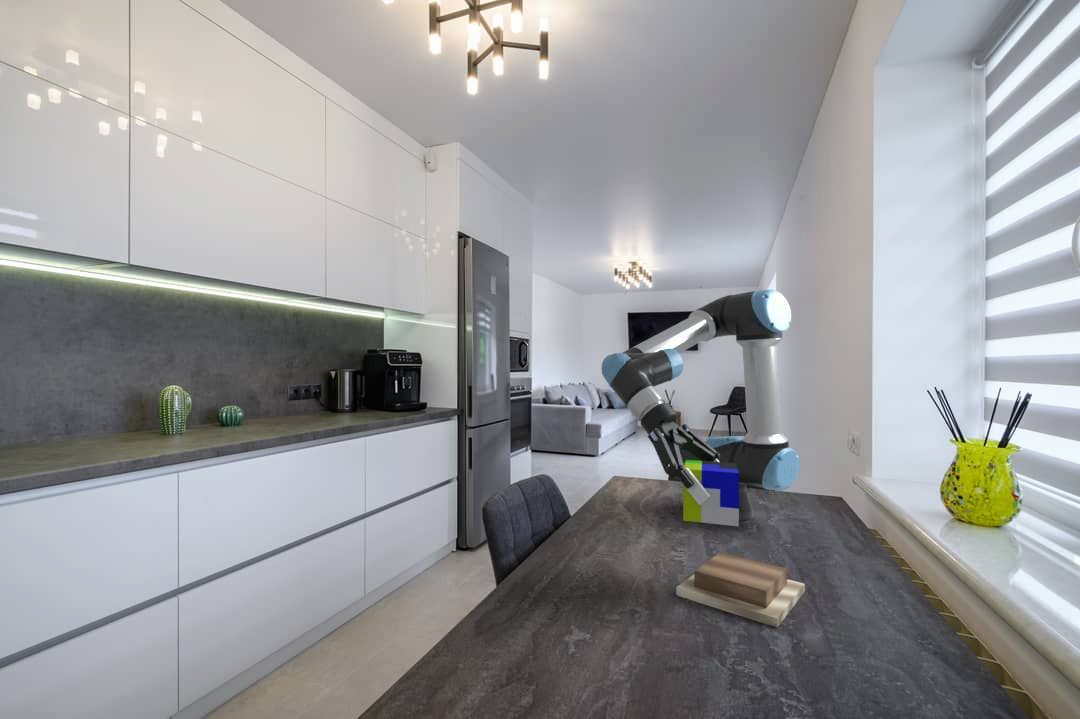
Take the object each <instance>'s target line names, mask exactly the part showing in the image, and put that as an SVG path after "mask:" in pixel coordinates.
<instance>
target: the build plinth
mask: <svg viewBox="0 0 1080 719" xmlns="http://www.w3.org/2000/svg"><path fill="white" fill-rule="evenodd" d="M805 584H806V583H804V582H799V581H795V580H791V579H788V568H787V567H786V568H785V567H782V566H778V565H775V564H769V563H765V562H762V561H757V560H753V559H749V558H745V557H741V556H737V555H733V554H730V553H729V554H728V553H724V552H722V551H721V552H719V553H717V554H716V555H715V556H713V557H712V558H710V559H709V560H708V561H706V562H705V563H703V564H702V565H701V566H700V567H698V568H696V569H695V570H694V574H693V575H692V576H690V577H688V578H687V579H685V580H684V581H683V582H682V583H680V584H679V585H677V586H676V588H675V590H676V596H677V595H678V596H677V597H681V598H684V599H686V598H687V600H690V601H693V602H696V603H699V604H703V605H706V606H708V607H711V608H713V609H718V610H720V611H721V610H722V611H724V612H728V613H731V614H734V615H737V616H740V617H744V618H745V619H750V620H753V621H754V622H755V621H756V622H758V623H762V624H765V625H768V626H772V627H774V628H779V626H780V625H781V624H782V623H783V621H784V620H785V619H786V617H787V616H788V614H789V613H790V612H791V610H793V608H794V606H795V605H796V604H797V602H798V601H799V600H800V598H801V597H802V596H803V594H804V593H805V591H806V590H805V589H806V587H805V586H806V585H805Z"/></svg>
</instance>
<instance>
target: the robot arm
mask: <svg viewBox="0 0 1080 719" xmlns="http://www.w3.org/2000/svg"><path fill="white" fill-rule="evenodd" d="M791 322H792V310H791V307H790V304H789V302H788V300H787V298H786V297H784V295H783V294H782V293H781V292H779V291H777V290H774V289H760V290H754V291H749V292H748V291H747V292H742V293H737V294H729V295H724V296H722V297H719V298H717V299H715V300H713V301H711V302H709V303H707V304H705V305H703V306H701V307H700V308H697V309H695V310H694V311H692V312H691V313H690V314H689V316H688V318H686V319H684V320H682V321H680V322H678V323H677V324H675V325H672V326H670V327H669V328H666V329H665V330H663V331H661V332H660V333H658V334H656V335H653V336H651V337H650V338H648V339H646V340H644V341H642V342H640V343H639V344H636V345H635V346H632V347H631V348H629V349H626V350H624V351H623V352H619V353H617V352H616V353H613V354H609V355H607V356H605V357H604V359H603V360H602V363H601V374H602V377H603V378H604V379H605V381H606V382H607V384H608V386H609V387H610V388H611V389H612V390H613V392H614V393H615V394H616V395H617V396H618V398H619V399H620V400H621V401H622V402H623V404H624V405H625V406H626V407H627V409H628V410H629V412H630V413H631V416H632V417H634V418H635V419H636V420H637V422H640V425H641V427H642V429H644V430H645V432H646V433H647V438H648V439H649V441H650V442H651V444H652V446H653V448H654V449H655V452H656V455H657V457H658V459H659V461H660V464H661V467H662V468H663V470H664V473H665V474H666V475H668V476H669V477H670V478H671V479H675V478H676V477H677V479H678V480H679V482H680V483H681V484H682V485H683V487H684V486H685V488H686V489H687V490H688V492H689V493H690V494H691V495H692V497H693V498H694V499H695V500H696V502H697V503H698V504H699V505H700V504H702V503H703V502H704V501H705V500H707V499H708V498H709V497H710V495H709V493H708V492H707V491H706V490H705V488H704V487H703V486H702V485H701V483H700V482H699V481H698V480H697V478H696V477H695V476H694V475H693V473H692V472H691V471H690V470H689V468H686V469H685V470H684V465H685V463H684V462H683V457H682V454H681V451H680V450H682V451H684V450H685V451H687V452H688V453H690V454H691V455H693V456H695V457H696V458H697V459H698V460H699V461H711V462H726V463H736V465H737V468H738V471H739V522H741V521H742V522H743V521H749V520H751V519H753V517H754V509H753V505H752V503H751V500H750V496H749V493H748V490H747V485H749V486H753V487H754V486H755V487H757V488H762V489H765V490H769V491H779V492H780V491H781V492H782V491H785V490H787V489H789V488H790V487H791V486H792V485H794V483H795V481H796V479H797V477H798V475H799V471H800V467H801V465H800V464H801V462H800V457H799V455H798V453H797V451H795V449H793V448H791V447H790V446H789V444H790V443H789V438H788V437H787V436H785V435H784V434H783V432H782V419H781V418H782V417H781V416H782V414H781V399H780V398H781V397H780V382H779V364H778V362H779V361H778V349H777V348H778V344H779V343H780V342H781V341H782V340H783V332H786V331H787V330H788V329H789V328H790V324H791ZM727 336H735V342H736V343H737V344H738V345H739V346H741V348H742V361H743V363H742V364H743V377H744V392H745V408H746V409H745V412H746V428H747V433H746V434H745V435H732V436H731V435H730V436H729V435H727V436H714V437H709V438H707V439H706V440H704V439H702V438H701V437H700V436H699V435H698V434H697V433H695V432H694V431H693V429H691V428H690V427H689V426H688V425H687V423H683V424H682V425H681V426H679V424H678V423H677V422H676V420H677V418H678V414H677V412H676V411H675V410H674V408H673V407H672V406H671V405H670V404H669V403H668V402H666V399H665V398H664V396H663V395H662V394H661V393H660V392H659V390H658V389H657V388H656V387H657V386H660V385H662V384H665V383H667V382H672V381H673V380H674V379H676V378H678V377H679V376H681V374H682V373H683V371H684V362H683V358H682V356H681V355H680V354H681V353H683V352H684V351H686V350H688V349H690V348H691V347H694V346H695V345H697V344H699V343H701V342H709V341H711V340H713V339H716V338H720V337H727Z"/></svg>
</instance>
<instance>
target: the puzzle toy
mask: <svg viewBox="0 0 1080 719" xmlns="http://www.w3.org/2000/svg"><path fill="white" fill-rule="evenodd" d="M686 468H689V470H690V471H691V472H692V473H693V475H694V476H695V477H696V478H697V480H698V481H699V482H700V483H701V485H702V486H703V487H704V488H705V490H706V491H707V492H708V493H709V495H710V497H709V498H708V499H707V500H705V501H704V502H703V503H702V504H700V505H699V504H698V503H697V502H696V500H695V499H694V498H693V497H692V495H691V494H690V493H689V492H688V490H687V489H686V488H685V486H684V485H683V495H682V496H683V503H682V504H683V507H682V508H683V511H682V512H683V513H682V514H683V520H682V521H683V522H692V523H693V522H694V523H700V524H701V523H702V524H710V525H711V524H712V525H722V526H730V527H739V526H740V524H739V522H740V521H739V471H738V468H737V465H736V463H726V462H711V461H702V460H694V459H693V460H692V459H685V461H684V469H683V470H685V469H686Z"/></svg>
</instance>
